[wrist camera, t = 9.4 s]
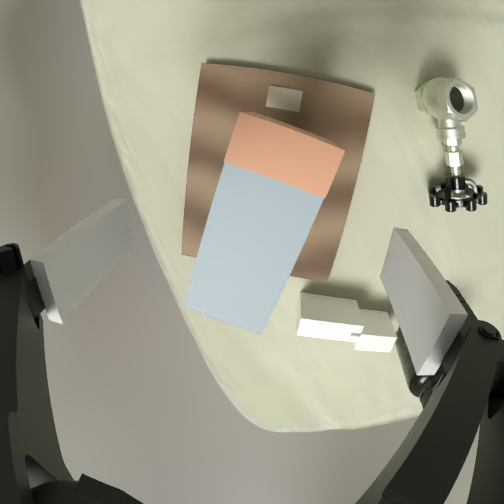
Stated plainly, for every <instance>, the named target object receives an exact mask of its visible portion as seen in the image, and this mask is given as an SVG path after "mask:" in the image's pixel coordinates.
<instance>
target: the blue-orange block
mask: <svg viewBox="0 0 504 504" xmlns="http://www.w3.org/2000/svg"><path fill="white" fill-rule="evenodd" d="M344 153H345V150H343V149H342V148H341V147H339V146H338V145H336V144H335V143H333V142H332V141H331V140H328V139H326V138H323V137H321V136H318V135H316V134H313V133H311V132H308V131H306V130H303V129H300V128H298V127H295V126H292V125H290V124H287V123H284V122H281V121H278V120H275V119H272V118H270V117H267V116H264V115H261V114H257V113H254V112H240V113H239V116H238V119H237V122H236V125H235V128H234V131H233V134H232V137H231V140H230V143H229V146H228V149H227V152H226V155H225V159H224V162H225V163H224V166H223V169H222V172H221V176H220V179H219V182H218V185H217V189H216V192H215V195H214V199H213V202H212V205H211V209H210V212H209V215H208V219H207V222H206V226H205V229H204V233H203V236H202V240H201V244H200V247H199V251H198V254H197V258H196V262H195V266H194V269H193V273H192V277H191V281H190V284H189V288H188V292H187V296H186V300H185V304H184V308H187V309H189V310H192V311H195V312H198V313H200V314H203V315H206V316H209V317H212V318H215V319H217V320H220V321H223V322H226V323H229V324H232V325H235V326H238V327H241V328H244V329H247V330H250V331H253V332H256V333H259V334H262V332H263V330H264V328H265V326H266V324H267V322H268V320H269V318H270V316H271V314H272V312H273V310H274V308H275V306H276V303H277V301H278V299H279V297H280V295H281V293H282V291H283V289H284V287H285V284H286V282H287V280H288V278H289V276H290V274H291V271H292V269H293V267H294V265H295V263H296V261H297V258H298V256H299V254H300V252H301V250H302V247H303V245H304V243H305V241H306V238H307V236H308V234H309V232H310V229H311V227H312V225H313V223H314V220H315V218H316V216H317V213H318V211H319V209H320V206H321V204H322V202H323V200H324V198H326V196H327V193H328V191H329V189H330V186H331V184H332V182H333V179H334V177H335V174H336V172H337V170H338V167H339V165H340V162H341V160H342V158H343V155H344Z"/></svg>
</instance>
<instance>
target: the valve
mask: <svg viewBox="0 0 504 504" xmlns="http://www.w3.org/2000/svg"><path fill="white" fill-rule="evenodd" d="M415 96H416V100H417V105H418V109H419V110H420V111H422V112H424V113H426V114H428V115H430V116H432V117H435V118H436V119H437V122H438V127H436V128H435V129H436V134H437V138H438V139H442V140H443V144H444V145H447V149H448V150H446V151H444V153H445V161H446V165H448V166H451V173H450V174H448V175H447V178H446V182H444V183H441V190H439V191H438V192H437V191H436V190H435V187H431V188H429V189H428V192H429V200H430V206H432V207H438V206H440V205H445V210H446V211H447V212H454V211H456V208H457V207H465V208H466V210H468V211H475V210H476V209H477V205H476V203H478V204H480V205H486V204H487V193H486V192H483V186H481V185H476V183H475V182H474V181H473V180H471V179H468V178H465V174H463V173H460V166H462V165H463V164H464V160H463V151H461V150H459V148H458V145H460V144H461V139H462V138H465V137H466V135H465V129H464V126H461V124H460V121H467V120H468V119H469V118H470V117H471V116H473V114H474V113H475V112H476V111H477V110H478V106H477V99H476V95H475V91H474V88H473V87H472V86H470V85H469V84H467V83H466V82H464V81H462V80H461V79H459V78H457V77H454V78H444V77H437V78H434V79H432V80H430V81H426V82H424V83H423V84H422V85H421V86H420V87H419V88H418V89H417V90H416V91H415ZM468 185H471V186H472V188H473V189H471V188H468ZM466 195H469V196H471V197H469V198H466ZM444 196H445V197H444Z"/></svg>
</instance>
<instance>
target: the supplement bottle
mask: <svg viewBox="0 0 504 504" xmlns="http://www.w3.org/2000/svg"><path fill="white" fill-rule="evenodd" d="M395 344H396V348H397V352H398V355H399V358H400V361H401V365H402V368H403V371H404V375H405V378H406V382H407V385H408V388H409V390H410V392H411V393H412V394H413V395H414V396H416V397H419V398H420V402H421V403H422V406H423V409H424V407H425V405H426V404H427V402H428V400H429V398H430V397H431V395H432V393H433V392H432V389H433V388H434V387H435V385H436V384H437V382H438V381H439V379H440V378H441V376H442V375H443V373H444V371H445V370H444V367H443V365H442V363H441V365H440V366H439V368H438V370H437V371H436V373H435V374H434V375H417V374H416V371H415V368H414V365H413V362H412V359H411V356H410V353H409V350H408V347H407V345H406V342H405V339H404V336H403V334H402V331H401V328H400V329H399V331H398V332H397V339H396V341H395Z"/></svg>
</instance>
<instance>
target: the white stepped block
mask: <svg viewBox="0 0 504 504" xmlns="http://www.w3.org/2000/svg"><path fill="white" fill-rule="evenodd" d="M296 335H298V336H306V337H314V338H322V339H331V340H340V341H349V342H352V343H353V348H354V350H363V351H376V352H390V351H391V349H392V347H393V345H394V343H395V341H396V339H397V335H396V333H395V330H394V327H393V325H392V322H391V319H390V317H389V314H388V312H384V311H376V310H367V309H359V307H358V303H357V300H353V299H345V298H338V297H331V296H324V295H317V294H310V293H303V292H300V295H299V299H298V303H297V307H296Z"/></svg>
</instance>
